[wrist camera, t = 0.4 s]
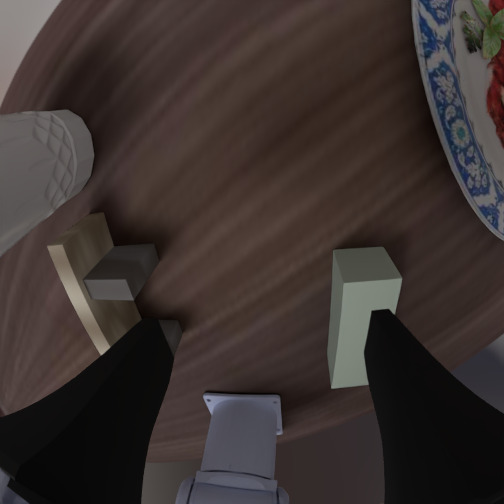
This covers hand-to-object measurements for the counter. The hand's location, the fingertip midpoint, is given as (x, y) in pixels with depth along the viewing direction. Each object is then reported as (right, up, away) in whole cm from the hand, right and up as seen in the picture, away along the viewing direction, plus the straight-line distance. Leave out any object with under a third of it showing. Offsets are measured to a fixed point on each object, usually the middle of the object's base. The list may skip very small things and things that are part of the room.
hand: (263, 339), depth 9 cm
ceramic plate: (+21, +16, +1) cm, 26 cm away
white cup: (-14, +10, +7) cm, 19 cm away
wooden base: (-9, 0, +12) cm, 15 cm away
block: (+7, -1, +11) cm, 13 cm away
